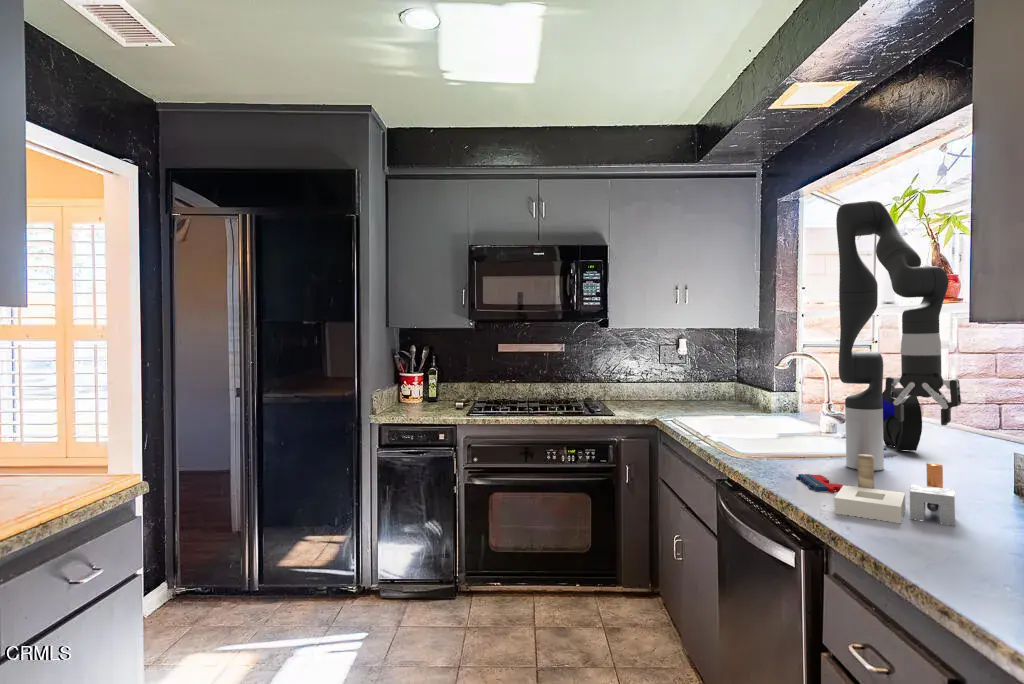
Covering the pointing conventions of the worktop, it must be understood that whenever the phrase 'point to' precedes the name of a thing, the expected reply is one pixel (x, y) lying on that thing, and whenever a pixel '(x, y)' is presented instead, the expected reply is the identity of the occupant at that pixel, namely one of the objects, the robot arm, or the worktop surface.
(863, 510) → the socket block
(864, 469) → the dowel
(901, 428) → the headphones
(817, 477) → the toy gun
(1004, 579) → the worktop surface
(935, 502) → the pin mount
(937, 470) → the lock pin
